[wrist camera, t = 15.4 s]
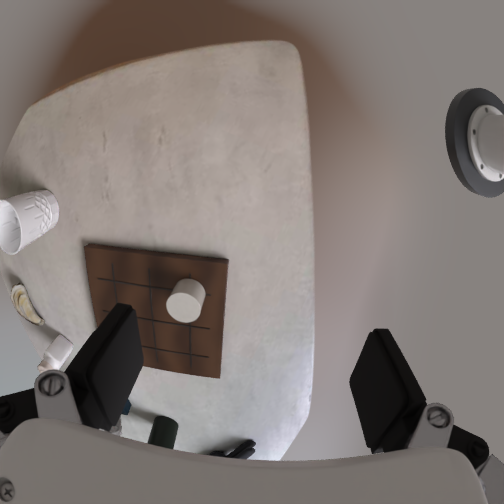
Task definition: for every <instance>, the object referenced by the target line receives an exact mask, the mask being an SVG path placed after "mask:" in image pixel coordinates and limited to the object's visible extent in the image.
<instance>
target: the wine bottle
mask: <svg viewBox="0 0 504 504" xmlns="http://www.w3.org/2000/svg"><path fill="white" fill-rule="evenodd" d="M177 430H178V424H177V422H175V421H174V420H172V419H170V418H168V417H163V416H159V417H156V418H155V420H154V423H153V426H152V429H151V433H150V436H149V439H148V443H147V444H151V445H155V446H159V447H164V448H169V449H173V448H174V443H175V439H176V435H177Z"/></svg>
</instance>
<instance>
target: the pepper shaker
mask: <svg viewBox="0 0 504 504" xmlns="http://www.w3.org/2000/svg"><path fill="white" fill-rule="evenodd" d="M72 348H73V344H72V343H71V342H70V341H68V340H67V339H66V338H65V337H64V336H62V335H61V334H60V335H58V336H57V337H56V339H55V340H54V341H53V342H52V343H51V345H50V346H49V347H48V348H47V350H46V351H45V353H44V359H43V360H42V361H41V363H40V364H39V365H38V370H39V372H40V373H43V372H44V371H47V370H52V369H55V370H59V369H60V368H61V366H62V365H63V363H64V362H65V360H66V359H67V358H68V356H69V355H70V353H71V351H72Z"/></svg>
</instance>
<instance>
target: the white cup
mask: <svg viewBox="0 0 504 504" xmlns="http://www.w3.org/2000/svg"><path fill="white" fill-rule="evenodd" d="M58 218H59V207H58V202H57V200H56V198H55V196H54V195H53V194H52V193H51V192H50V191H48V190H38V191H33V192H28V193H24V194H19V195H16V196H12V197H9V198H5V199H2V200H0V248H1V249H2V250H3V251H4V252H5V253H7V254H10V255H13V254H16V253H17V252H19V251H20V250H22V249H23V248H24V247H26V246H27V245H29V244H30V243H32V242H33V241H35V240H36V239H38V238H39V237H41V236H42V235H43V234H44V233H45V232H47V231H48V230H50V229H52V228H53V227H55V225H56V223H57V221H58Z"/></svg>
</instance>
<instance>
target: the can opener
mask: <svg viewBox="0 0 504 504" xmlns="http://www.w3.org/2000/svg"><path fill="white" fill-rule="evenodd" d="M255 445H256V443H255V442H254V441H247V442H246V443H244V444H242V445H241V446H239V447H238V448H237V449H235V450H234V451H233V452H231V453H230V454H229V455H227V456H224V454H223V453H220V452H217V451H215V452H213V453H211V454H210V455H209V456H217V457H225V458H235V459H247V458H249V457H250V456H251V455H252V454H253V453H254V452H255V449H254V448H252V447H254V446H255Z"/></svg>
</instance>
